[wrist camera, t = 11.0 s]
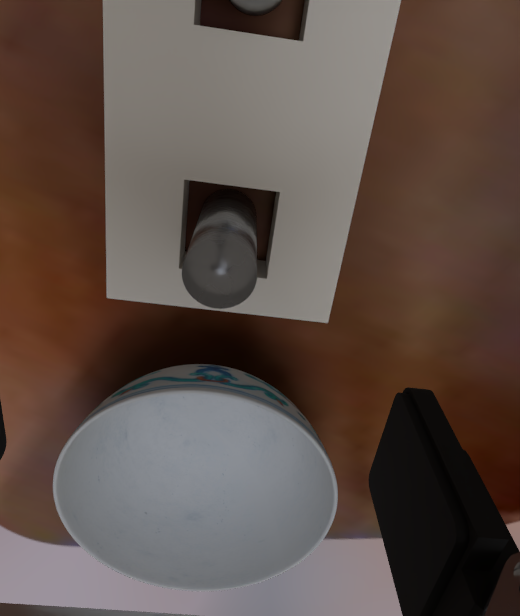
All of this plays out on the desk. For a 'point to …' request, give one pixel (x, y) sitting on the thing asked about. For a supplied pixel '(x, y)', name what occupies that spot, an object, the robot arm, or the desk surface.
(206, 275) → the steel pin
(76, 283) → the desk surface
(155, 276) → the pin board
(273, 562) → the chinaware
